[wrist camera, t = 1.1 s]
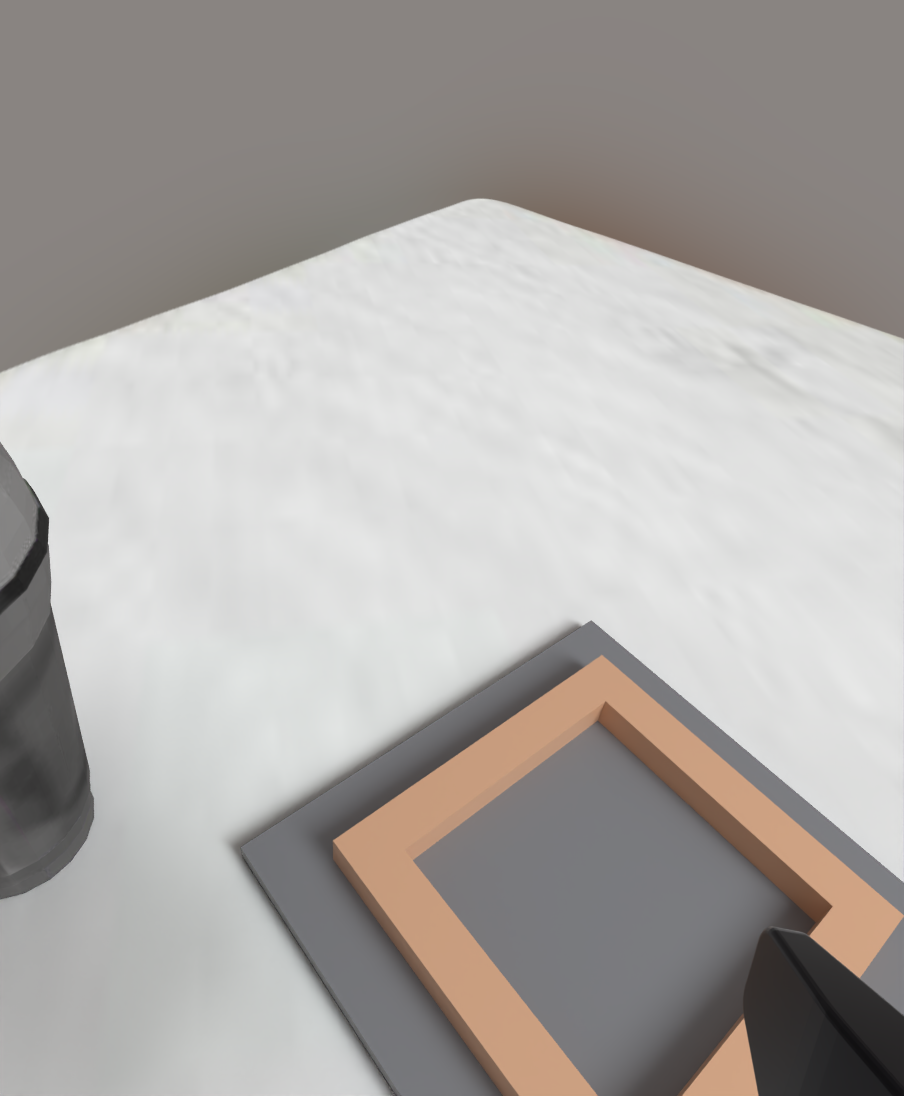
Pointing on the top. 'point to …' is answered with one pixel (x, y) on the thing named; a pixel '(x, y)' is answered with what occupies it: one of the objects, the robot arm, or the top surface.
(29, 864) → the beverage cup
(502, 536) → the top surface
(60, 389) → the top surface
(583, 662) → the cup dock
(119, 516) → the top surface
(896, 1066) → the robot arm
